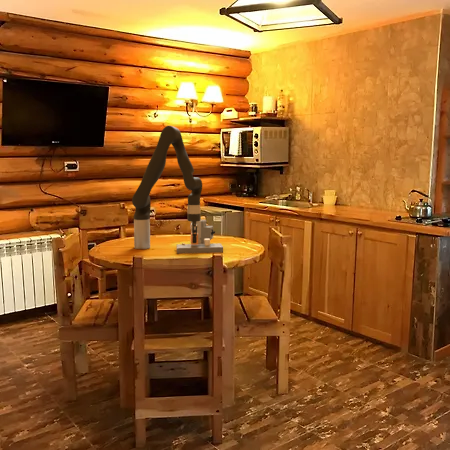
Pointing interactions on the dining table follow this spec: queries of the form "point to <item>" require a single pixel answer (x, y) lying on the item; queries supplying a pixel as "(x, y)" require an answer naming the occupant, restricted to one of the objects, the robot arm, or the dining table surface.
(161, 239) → the dining table surface
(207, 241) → the switch
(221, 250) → the breaker panel
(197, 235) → the cap
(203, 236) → the circuit breaker
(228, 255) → the dining table surface
